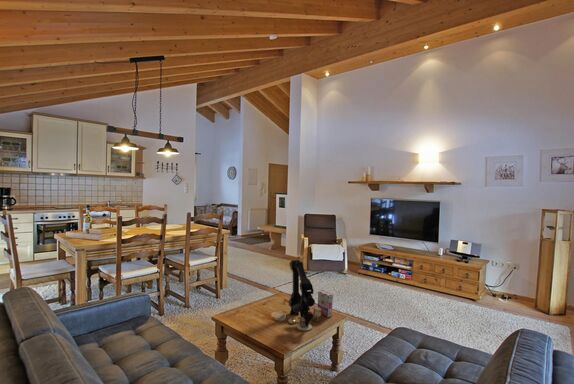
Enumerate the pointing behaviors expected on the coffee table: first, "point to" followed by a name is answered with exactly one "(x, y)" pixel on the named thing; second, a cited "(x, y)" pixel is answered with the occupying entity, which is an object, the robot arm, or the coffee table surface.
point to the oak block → (317, 311)
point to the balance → (293, 321)
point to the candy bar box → (325, 303)
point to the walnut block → (303, 323)
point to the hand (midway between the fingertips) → (304, 323)
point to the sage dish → (304, 328)
